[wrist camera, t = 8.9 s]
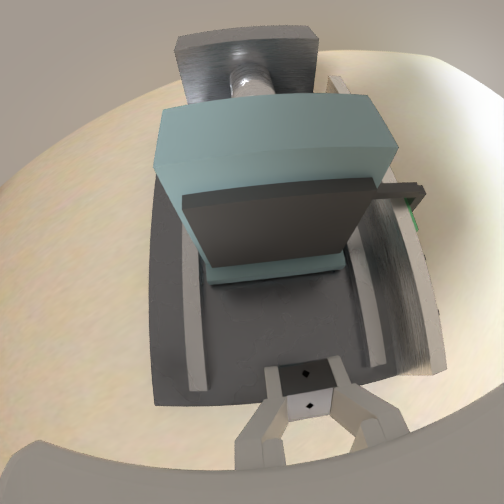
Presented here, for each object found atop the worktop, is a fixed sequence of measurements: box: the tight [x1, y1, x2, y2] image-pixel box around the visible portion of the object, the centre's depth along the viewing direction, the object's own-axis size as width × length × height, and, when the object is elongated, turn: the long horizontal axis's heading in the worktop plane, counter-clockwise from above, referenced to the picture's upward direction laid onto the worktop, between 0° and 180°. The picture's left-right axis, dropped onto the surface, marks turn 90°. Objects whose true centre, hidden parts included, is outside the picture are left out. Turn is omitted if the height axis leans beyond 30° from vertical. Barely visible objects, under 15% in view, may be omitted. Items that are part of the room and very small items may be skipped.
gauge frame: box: [149, 25, 447, 406], centre depth 15 cm, size 24×16×10 cm, turn 6°
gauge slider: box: [153, 93, 426, 285], centre depth 13 cm, size 5×13×9 cm, turn 96°
